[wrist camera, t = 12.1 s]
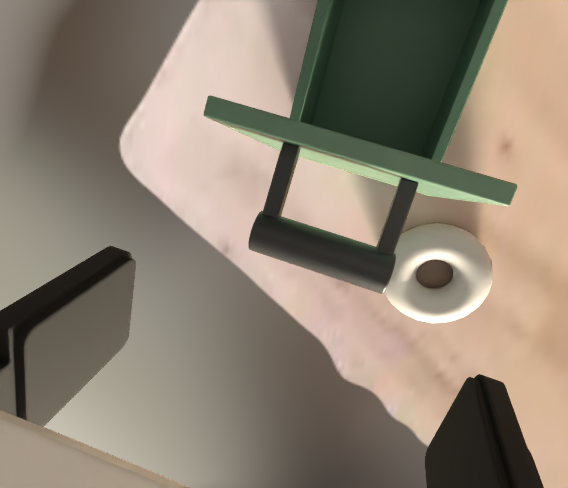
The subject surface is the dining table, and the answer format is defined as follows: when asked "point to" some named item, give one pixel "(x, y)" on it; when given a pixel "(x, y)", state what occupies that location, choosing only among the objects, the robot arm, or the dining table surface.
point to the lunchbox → (394, 69)
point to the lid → (356, 159)
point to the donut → (453, 296)
